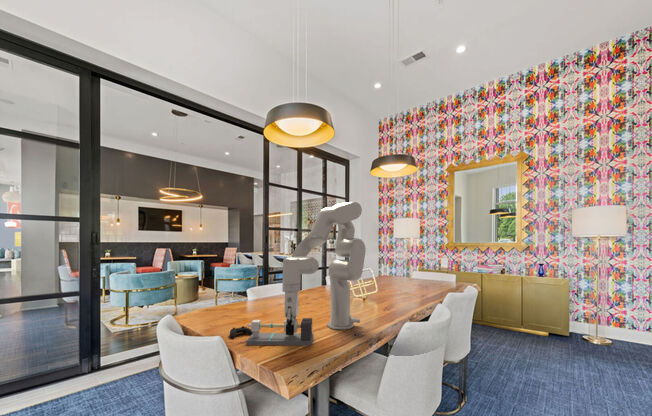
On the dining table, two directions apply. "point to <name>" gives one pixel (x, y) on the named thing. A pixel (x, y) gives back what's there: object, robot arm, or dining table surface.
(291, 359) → the dining table surface
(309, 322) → the board
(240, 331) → the game controller
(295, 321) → the sleeve
